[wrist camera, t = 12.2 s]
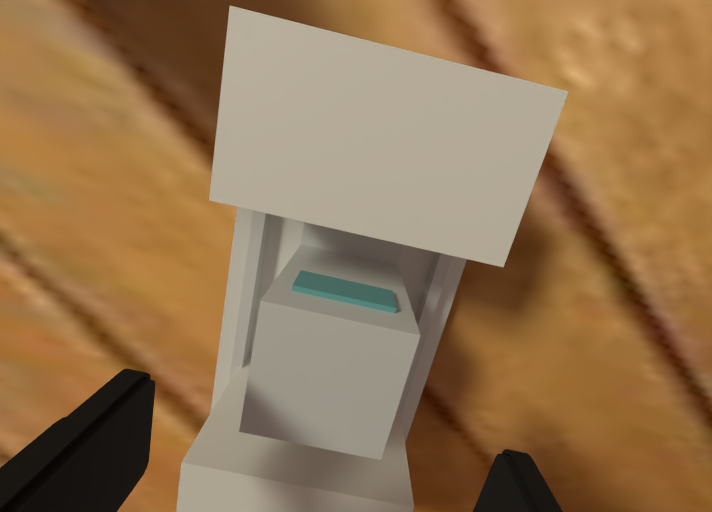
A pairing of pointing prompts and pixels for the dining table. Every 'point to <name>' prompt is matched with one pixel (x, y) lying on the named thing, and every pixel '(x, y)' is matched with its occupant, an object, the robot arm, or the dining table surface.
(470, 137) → the white channel bracket
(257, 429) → the block
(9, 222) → the dining table surface
